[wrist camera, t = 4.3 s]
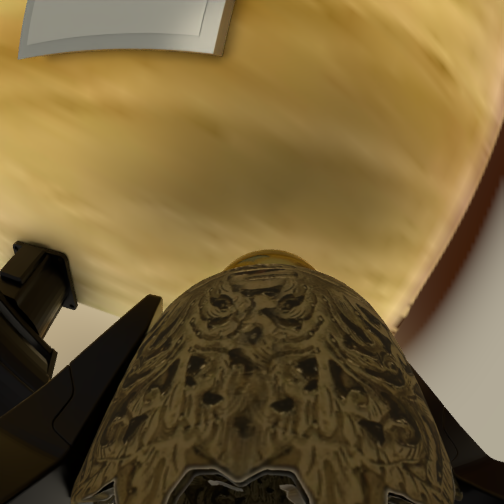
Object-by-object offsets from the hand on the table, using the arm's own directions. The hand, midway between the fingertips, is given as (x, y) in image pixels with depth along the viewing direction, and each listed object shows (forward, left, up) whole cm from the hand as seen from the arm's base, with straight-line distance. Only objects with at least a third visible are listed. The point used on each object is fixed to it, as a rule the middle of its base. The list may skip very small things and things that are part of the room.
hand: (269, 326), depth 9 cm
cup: (0, 0, -2) cm, 2 cm away
